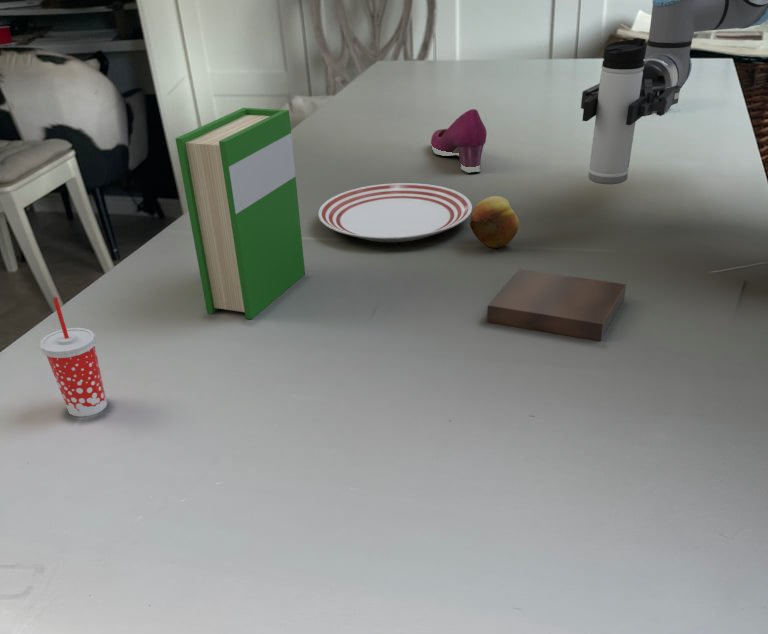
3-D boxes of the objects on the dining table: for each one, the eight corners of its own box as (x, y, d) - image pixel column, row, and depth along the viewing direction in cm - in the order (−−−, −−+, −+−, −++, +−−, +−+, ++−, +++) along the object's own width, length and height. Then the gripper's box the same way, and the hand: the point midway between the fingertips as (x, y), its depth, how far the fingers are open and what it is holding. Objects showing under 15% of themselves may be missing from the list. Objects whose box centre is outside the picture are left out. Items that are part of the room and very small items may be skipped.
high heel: (454, 143, 188) (455, 84, 181) (500, 171, 169) (504, 107, 161) (419, 147, 186) (419, 88, 179) (462, 177, 167) (464, 112, 159)
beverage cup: (114, 414, 97) (83, 304, 88) (60, 423, 95) (24, 313, 87) (112, 390, 101) (83, 283, 93) (62, 399, 100) (27, 291, 91)
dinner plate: (446, 259, 132) (446, 239, 130) (294, 244, 140) (292, 224, 138) (488, 206, 152) (489, 188, 150) (353, 195, 160) (352, 178, 158)
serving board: (623, 300, 117) (626, 284, 116) (600, 341, 107) (603, 323, 106) (518, 284, 123) (519, 268, 121) (486, 322, 113) (487, 305, 111)
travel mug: (636, 179, 133) (658, 40, 121) (608, 187, 130) (627, 46, 118) (608, 170, 137) (626, 35, 125) (580, 178, 134) (596, 41, 122)
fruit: (512, 256, 132) (516, 206, 127) (463, 252, 134) (464, 202, 129) (521, 240, 137) (525, 192, 133) (474, 236, 140) (476, 188, 135)
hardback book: (251, 319, 116) (225, 141, 101) (207, 313, 119) (175, 138, 104) (305, 274, 129) (288, 110, 114) (264, 268, 131) (243, 107, 116)
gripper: (701, 112, 137) (666, 145, 122) (592, 103, 145) (545, 134, 130) (711, 62, 133) (675, 90, 117) (597, 56, 141) (550, 82, 125)
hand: (607, 113), depth 124 cm, fingers closed on travel mug, 6 cm apart
